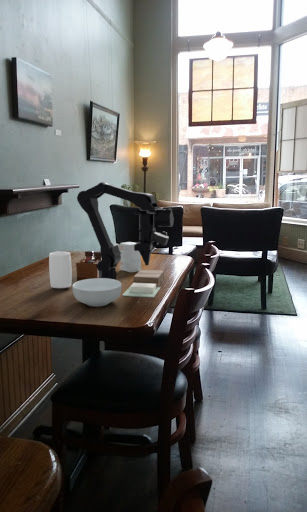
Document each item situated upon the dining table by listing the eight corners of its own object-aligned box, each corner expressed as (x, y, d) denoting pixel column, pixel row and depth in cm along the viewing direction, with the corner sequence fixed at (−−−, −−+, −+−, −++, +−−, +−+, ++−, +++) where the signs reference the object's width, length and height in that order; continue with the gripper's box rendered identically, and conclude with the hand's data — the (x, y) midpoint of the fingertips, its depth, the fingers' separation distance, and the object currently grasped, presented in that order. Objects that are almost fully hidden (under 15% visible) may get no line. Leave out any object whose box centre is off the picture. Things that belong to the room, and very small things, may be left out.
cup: (50, 292, 162) (48, 255, 159) (49, 286, 170) (48, 251, 167) (73, 290, 164) (71, 254, 162) (71, 285, 172) (70, 250, 170)
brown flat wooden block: (158, 287, 168) (158, 277, 167) (133, 286, 170) (133, 276, 169) (164, 279, 181) (164, 270, 181) (141, 278, 183) (141, 269, 182)
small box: (141, 271, 198) (141, 243, 196) (130, 272, 194) (130, 244, 192) (131, 268, 205) (130, 241, 202) (120, 270, 201) (119, 242, 198)
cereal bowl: (63, 303, 147) (62, 283, 146) (101, 294, 159) (101, 275, 158) (92, 314, 135) (92, 292, 134) (131, 303, 147) (131, 283, 146)
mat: (153, 297, 154) (153, 296, 154) (121, 295, 156) (121, 295, 156) (160, 287, 168) (160, 287, 168) (131, 286, 170) (131, 285, 170)
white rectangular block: (156, 283, 165) (156, 288, 165) (133, 282, 166) (133, 287, 167) (153, 287, 159) (153, 292, 159) (129, 286, 161) (130, 291, 161)
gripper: (163, 229, 155) (163, 270, 158) (170, 223, 173) (170, 261, 176) (133, 228, 157) (134, 270, 160) (144, 223, 175) (144, 260, 178)
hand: (147, 265), depth 168 cm, fingers closed
